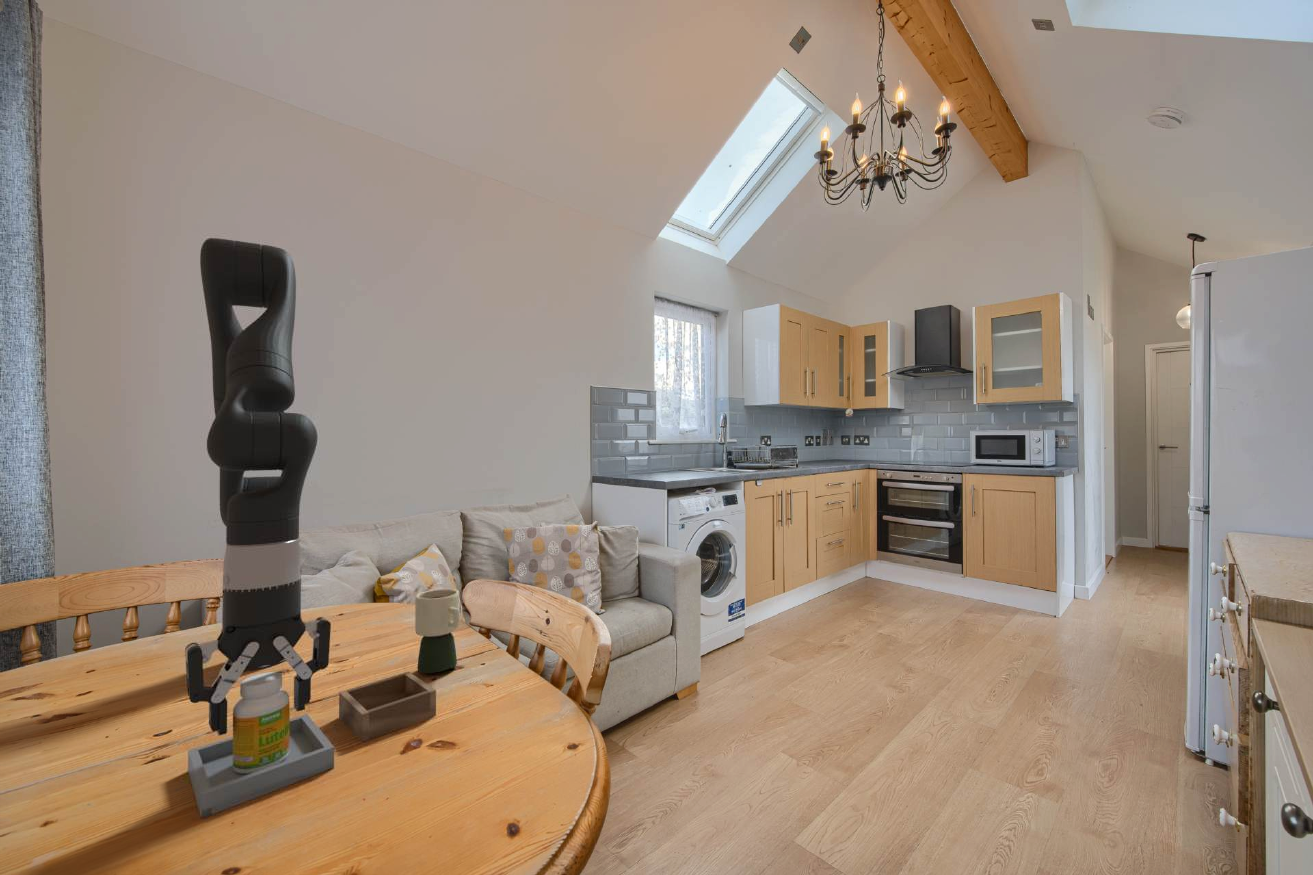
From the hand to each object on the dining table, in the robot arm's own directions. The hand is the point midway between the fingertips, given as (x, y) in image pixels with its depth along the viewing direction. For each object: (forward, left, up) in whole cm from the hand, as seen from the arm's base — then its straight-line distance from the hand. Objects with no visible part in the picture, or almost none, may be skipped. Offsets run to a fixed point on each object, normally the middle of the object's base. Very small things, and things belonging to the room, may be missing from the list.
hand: (261, 719), depth 63 cm
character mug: (-13, +27, -6) cm, 31 cm away
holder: (-2, +15, -6) cm, 16 cm away
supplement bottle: (0, 0, -5) cm, 5 cm away
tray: (0, 0, -6) cm, 6 cm away
